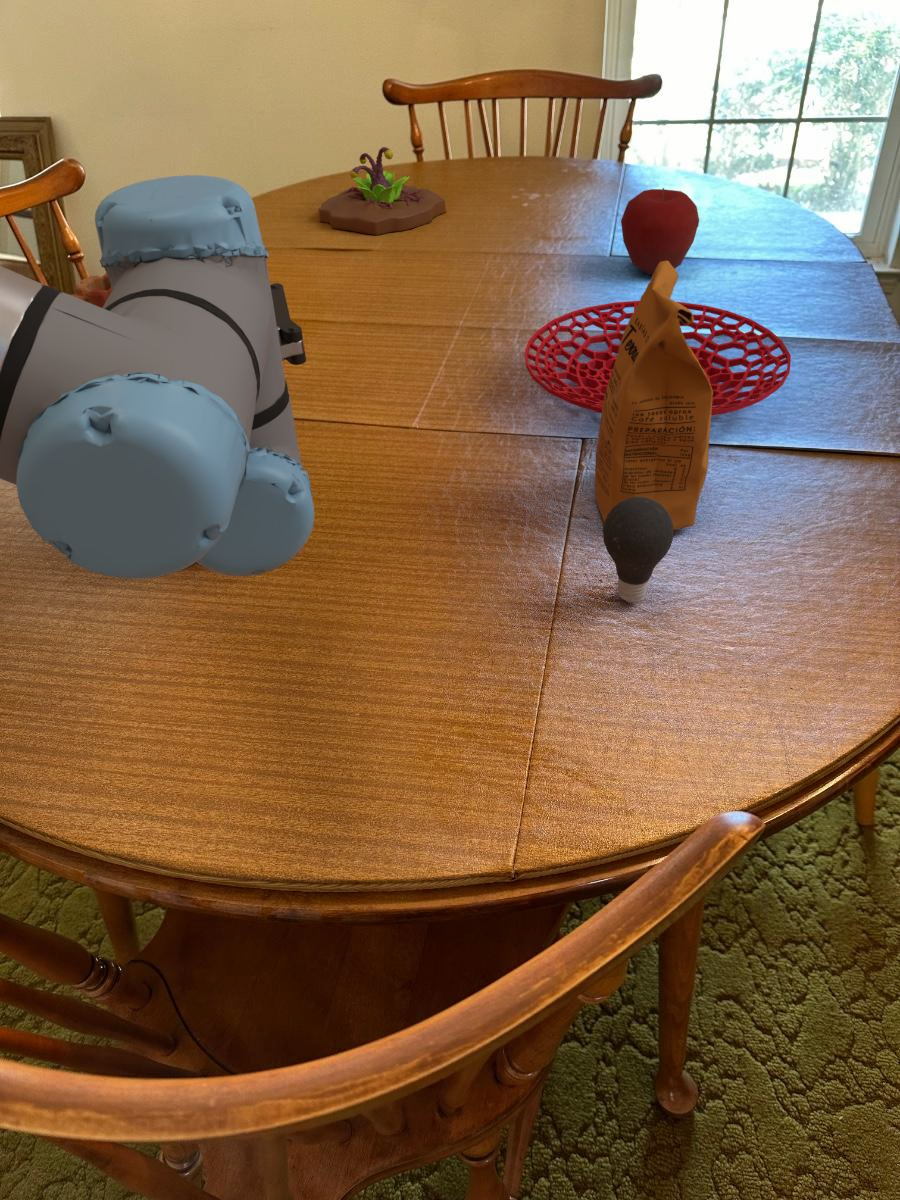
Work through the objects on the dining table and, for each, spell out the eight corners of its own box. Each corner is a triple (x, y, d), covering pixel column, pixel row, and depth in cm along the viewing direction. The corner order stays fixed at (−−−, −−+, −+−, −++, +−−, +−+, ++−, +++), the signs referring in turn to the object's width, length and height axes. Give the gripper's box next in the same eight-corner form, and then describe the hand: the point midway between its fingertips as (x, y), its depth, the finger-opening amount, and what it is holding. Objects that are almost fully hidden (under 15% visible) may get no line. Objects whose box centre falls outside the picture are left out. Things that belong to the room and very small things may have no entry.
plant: (380, 242, 153) (373, 169, 145) (303, 220, 163) (293, 151, 156) (463, 209, 163) (460, 140, 156) (385, 191, 174) (379, 125, 167)
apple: (604, 267, 139) (608, 184, 132) (663, 253, 143) (671, 172, 135) (646, 290, 132) (653, 204, 124) (708, 275, 135) (719, 190, 127)
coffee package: (691, 469, 95) (720, 252, 81) (702, 541, 86) (738, 310, 72) (593, 467, 96) (605, 254, 82) (593, 538, 87) (607, 310, 73)
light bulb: (607, 574, 83) (614, 478, 76) (670, 586, 81) (683, 489, 75) (590, 613, 79) (597, 515, 72) (657, 627, 77) (669, 528, 71)
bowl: (642, 489, 93) (646, 445, 90) (474, 383, 112) (473, 344, 109) (840, 401, 105) (850, 359, 101) (657, 319, 124) (660, 282, 121)
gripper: (83, 479, 61) (85, 340, 78) (368, 426, 65) (310, 305, 82) (46, 373, 56) (57, 250, 73) (356, 322, 60) (297, 216, 77)
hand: (190, 279), depth 78 cm, fingers closed on pill bottle, 6 cm apart
